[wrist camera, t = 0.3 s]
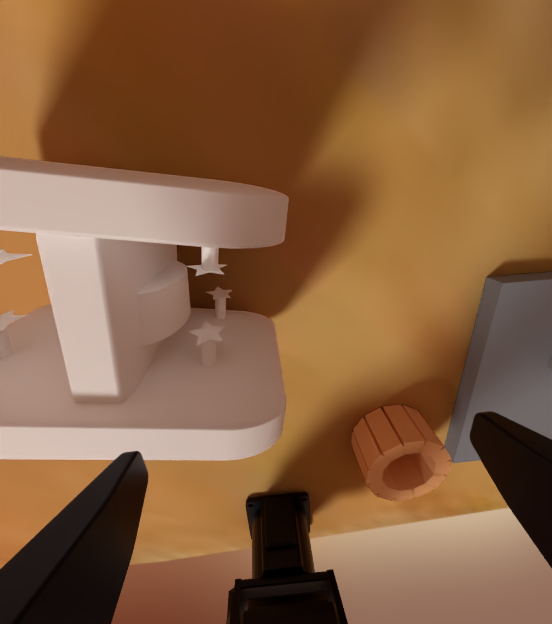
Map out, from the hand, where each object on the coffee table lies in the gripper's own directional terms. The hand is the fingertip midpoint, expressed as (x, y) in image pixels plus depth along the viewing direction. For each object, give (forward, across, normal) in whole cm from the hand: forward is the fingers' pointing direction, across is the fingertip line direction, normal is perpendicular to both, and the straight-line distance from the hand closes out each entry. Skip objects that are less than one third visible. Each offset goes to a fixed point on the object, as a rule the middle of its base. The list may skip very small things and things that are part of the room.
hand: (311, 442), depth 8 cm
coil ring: (+14, -10, +16) cm, 23 cm away
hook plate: (+14, -23, +10) cm, 28 cm away
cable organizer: (+14, +7, -2) cm, 16 cm away
